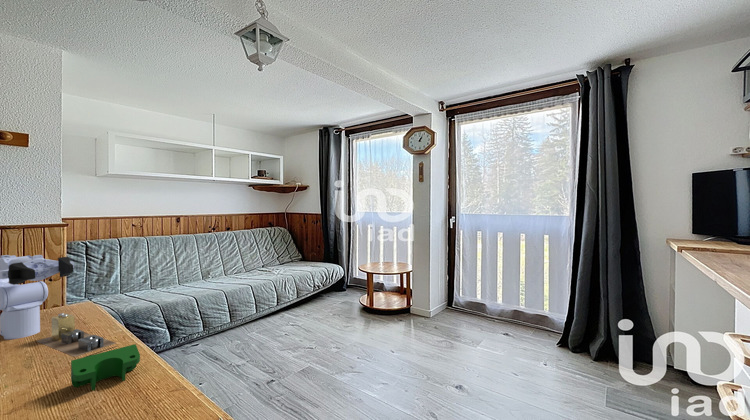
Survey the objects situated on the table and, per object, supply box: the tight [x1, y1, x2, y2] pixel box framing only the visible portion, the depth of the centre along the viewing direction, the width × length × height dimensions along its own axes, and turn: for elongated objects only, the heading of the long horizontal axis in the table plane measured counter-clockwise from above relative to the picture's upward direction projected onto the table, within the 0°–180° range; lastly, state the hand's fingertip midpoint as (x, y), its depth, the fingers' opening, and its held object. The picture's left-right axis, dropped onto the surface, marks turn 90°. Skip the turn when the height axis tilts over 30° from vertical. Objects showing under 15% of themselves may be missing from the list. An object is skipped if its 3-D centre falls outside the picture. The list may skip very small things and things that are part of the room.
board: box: [35, 331, 118, 358], centre depth 89 cm, size 22×9×1 cm, turn 65°
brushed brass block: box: [51, 312, 76, 341], centre depth 92 cm, size 4×4×7 cm
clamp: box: [70, 343, 141, 391], centre depth 71 cm, size 12×6×9 cm, turn 131°
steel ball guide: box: [61, 328, 105, 353], centre depth 87 cm, size 14×3×2 cm, turn 65°
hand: (53, 271), depth 86 cm, fingers open, 7 cm apart
